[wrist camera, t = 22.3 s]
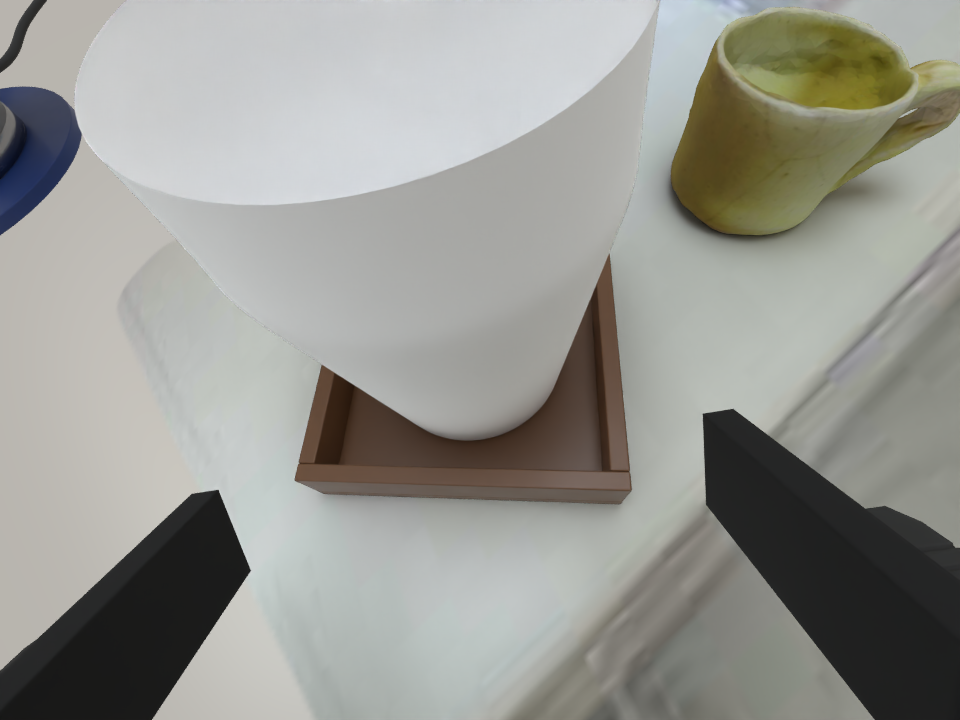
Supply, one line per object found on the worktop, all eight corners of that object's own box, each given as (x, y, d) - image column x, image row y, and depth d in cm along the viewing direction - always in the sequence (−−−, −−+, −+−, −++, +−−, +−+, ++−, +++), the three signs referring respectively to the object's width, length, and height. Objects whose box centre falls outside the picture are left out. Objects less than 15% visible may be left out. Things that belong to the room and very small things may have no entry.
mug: (636, 225, 26) (742, 12, 18) (652, 156, 32) (734, -21, 25) (853, 301, 24) (1063, 105, 17) (823, 213, 31) (964, 45, 24)
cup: (312, 398, 25) (-49, 99, 10) (444, 237, 29) (334, -149, 14) (512, 530, 20) (418, 356, 5) (635, 317, 24) (777, -121, 9)
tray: (370, 265, 29) (352, 231, 27) (600, 255, 27) (606, 218, 25) (323, 494, 23) (293, 480, 20) (620, 504, 21) (632, 491, 18)
